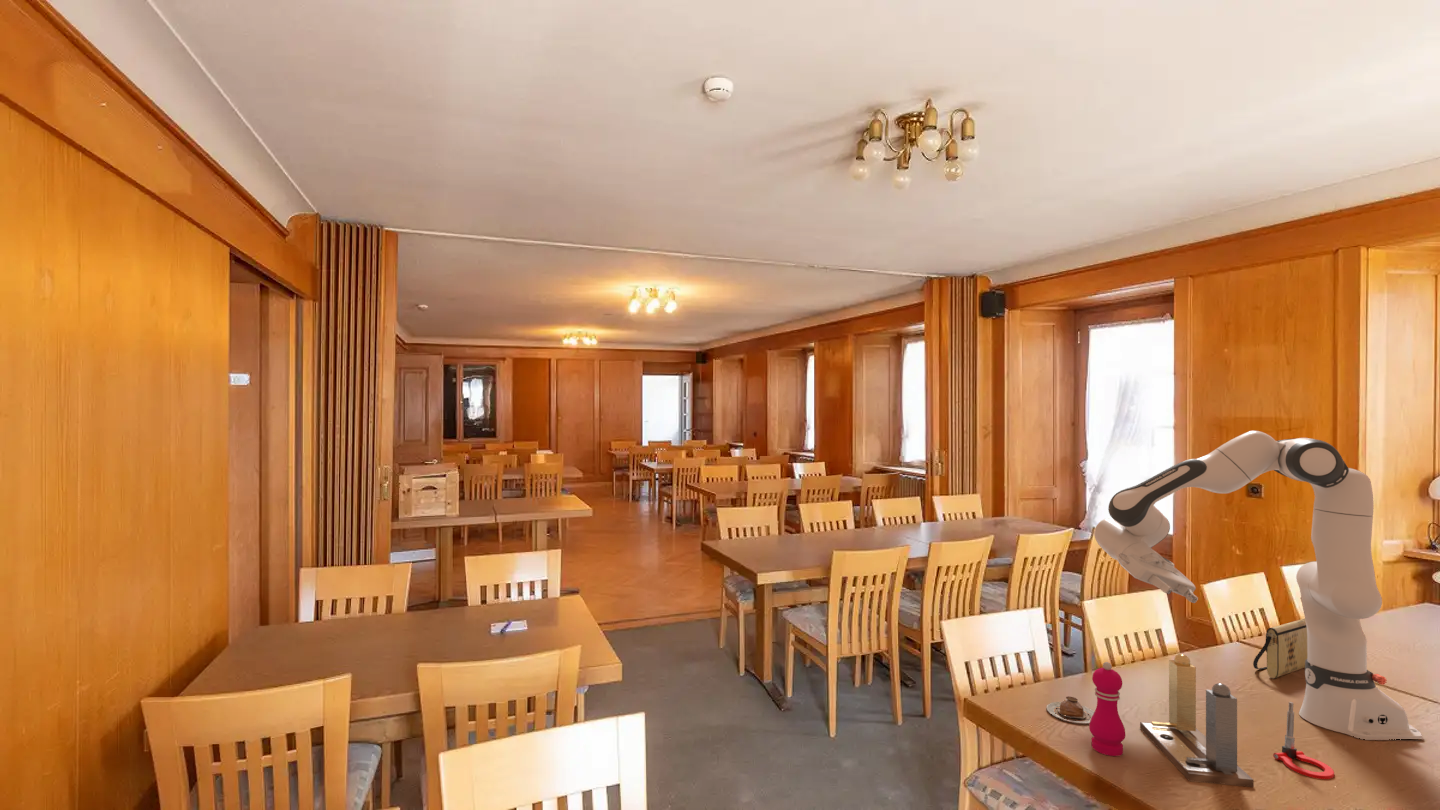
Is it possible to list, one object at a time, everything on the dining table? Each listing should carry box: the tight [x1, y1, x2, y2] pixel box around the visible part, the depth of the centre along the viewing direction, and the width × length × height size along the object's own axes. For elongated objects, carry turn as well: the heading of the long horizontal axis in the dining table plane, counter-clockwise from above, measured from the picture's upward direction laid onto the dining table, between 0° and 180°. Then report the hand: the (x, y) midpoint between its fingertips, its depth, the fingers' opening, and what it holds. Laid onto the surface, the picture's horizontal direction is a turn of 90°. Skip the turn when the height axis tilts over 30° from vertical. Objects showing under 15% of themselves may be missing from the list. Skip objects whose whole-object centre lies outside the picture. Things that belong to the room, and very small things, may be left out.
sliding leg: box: [1150, 653, 1197, 731], centre depth 161 cm, size 8×4×17 cm, turn 79°
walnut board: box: [1139, 721, 1255, 788], centre depth 152 cm, size 12×24×2 cm, turn 169°
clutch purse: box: [1252, 617, 1307, 680], centre depth 204 cm, size 30×7×15 cm, turn 117°
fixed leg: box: [1186, 682, 1238, 773], centre depth 145 cm, size 8×4×18 cm, turn 79°
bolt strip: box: [1142, 722, 1233, 775], centre depth 153 cm, size 9×22×1 cm, turn 169°
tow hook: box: [1272, 701, 1335, 780], centre depth 147 cm, size 8×13×9 cm
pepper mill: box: [1088, 661, 1126, 757], centre depth 155 cm, size 7×7×20 cm
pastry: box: [1046, 696, 1095, 725], centre depth 173 cm, size 12×12×5 cm
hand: (1182, 596), depth 170 cm, fingers open, 8 cm apart
